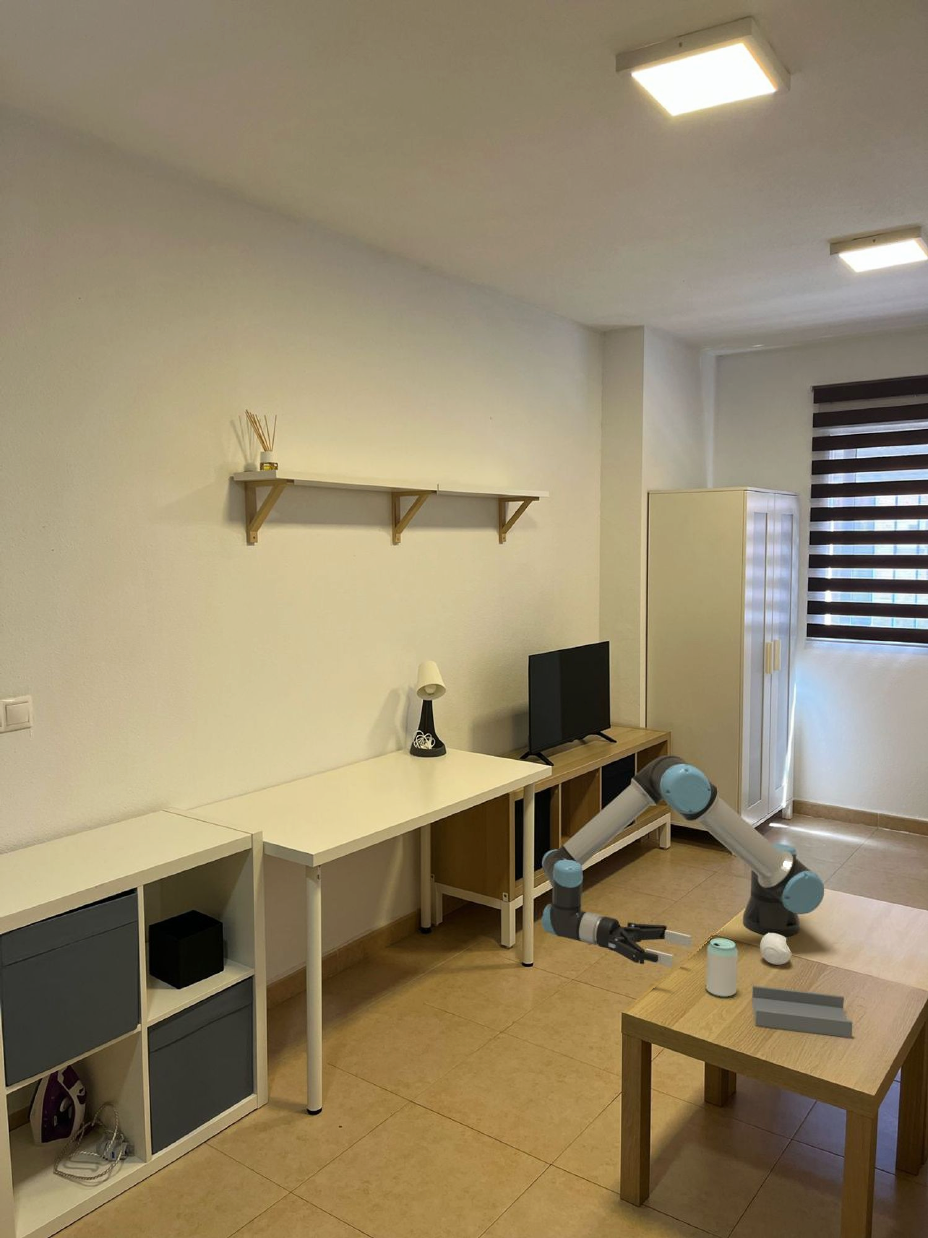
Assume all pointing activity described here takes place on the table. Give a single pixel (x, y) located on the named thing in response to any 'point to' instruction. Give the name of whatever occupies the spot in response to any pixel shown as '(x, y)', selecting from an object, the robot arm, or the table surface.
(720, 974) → the can
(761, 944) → the cream rounded lump
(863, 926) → the table surface
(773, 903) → the robot arm
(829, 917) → the table surface
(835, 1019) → the duct channel
